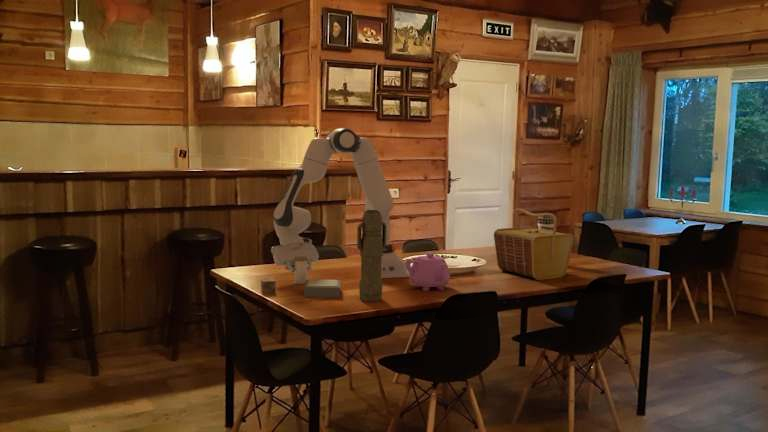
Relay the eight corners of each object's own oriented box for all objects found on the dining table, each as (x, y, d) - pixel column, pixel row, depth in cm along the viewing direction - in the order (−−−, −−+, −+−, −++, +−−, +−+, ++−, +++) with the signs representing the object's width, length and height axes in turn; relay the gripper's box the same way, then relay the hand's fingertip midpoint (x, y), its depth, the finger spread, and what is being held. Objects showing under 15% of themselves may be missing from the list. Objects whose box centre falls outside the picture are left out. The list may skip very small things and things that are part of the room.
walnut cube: (273, 290, 296) (273, 278, 295) (275, 293, 291) (275, 281, 290) (261, 291, 294) (261, 279, 293) (263, 293, 289) (263, 281, 289)
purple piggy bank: (417, 295, 291) (418, 259, 289) (397, 285, 309) (397, 251, 307) (460, 292, 299) (461, 256, 297) (437, 282, 317) (438, 248, 315)
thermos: (351, 298, 283) (353, 210, 279) (376, 295, 290) (378, 208, 286) (363, 303, 276) (365, 212, 272) (389, 300, 282) (391, 211, 278)
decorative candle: (557, 263, 369) (559, 215, 366) (544, 265, 364) (546, 216, 361) (543, 260, 376) (545, 213, 374) (531, 262, 371) (533, 214, 368)
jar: (307, 281, 314) (307, 256, 312) (306, 284, 308) (306, 258, 307) (294, 281, 313) (295, 256, 312) (294, 284, 308) (294, 258, 307)
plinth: (340, 289, 299) (340, 279, 298) (339, 297, 285) (339, 286, 285) (306, 289, 298) (306, 279, 298) (304, 297, 284) (304, 286, 284)
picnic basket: (574, 277, 335) (577, 213, 331) (532, 282, 322) (535, 215, 318) (530, 266, 360) (533, 206, 356) (490, 271, 346) (492, 208, 343)
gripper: (271, 242, 309) (281, 268, 302) (314, 239, 320) (324, 264, 313) (267, 251, 313) (277, 277, 306) (309, 247, 324) (319, 272, 317)
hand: (301, 270), depth 310 cm, fingers open, 6 cm apart
